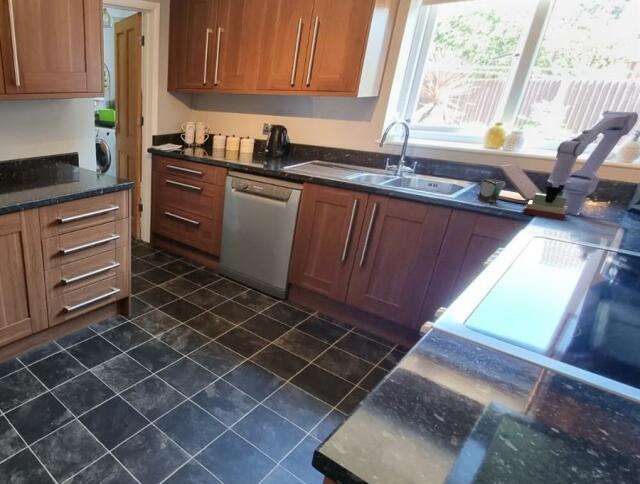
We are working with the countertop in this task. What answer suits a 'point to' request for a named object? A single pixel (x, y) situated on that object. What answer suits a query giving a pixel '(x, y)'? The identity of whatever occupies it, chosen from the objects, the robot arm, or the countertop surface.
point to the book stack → (545, 211)
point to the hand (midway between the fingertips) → (548, 201)
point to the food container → (490, 190)
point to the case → (517, 185)
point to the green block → (557, 202)
